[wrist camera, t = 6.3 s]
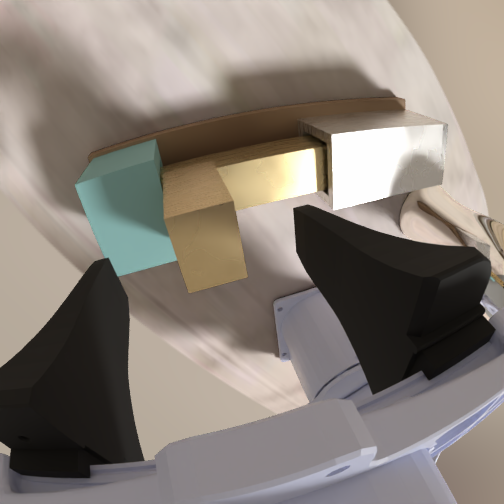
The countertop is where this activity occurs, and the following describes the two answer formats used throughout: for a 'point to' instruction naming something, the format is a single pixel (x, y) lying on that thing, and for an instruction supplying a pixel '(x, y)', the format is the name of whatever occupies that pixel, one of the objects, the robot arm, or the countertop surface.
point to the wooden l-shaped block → (232, 201)
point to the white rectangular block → (378, 154)
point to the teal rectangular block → (127, 207)
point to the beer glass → (457, 234)
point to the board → (246, 128)
